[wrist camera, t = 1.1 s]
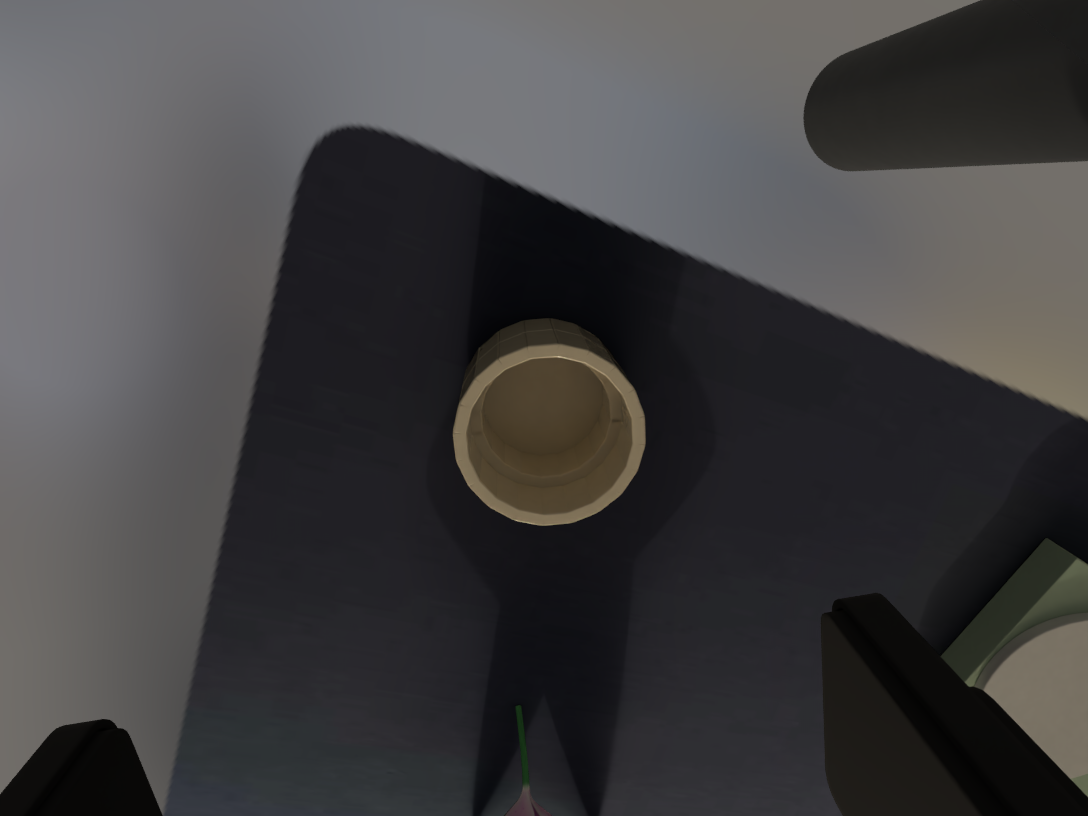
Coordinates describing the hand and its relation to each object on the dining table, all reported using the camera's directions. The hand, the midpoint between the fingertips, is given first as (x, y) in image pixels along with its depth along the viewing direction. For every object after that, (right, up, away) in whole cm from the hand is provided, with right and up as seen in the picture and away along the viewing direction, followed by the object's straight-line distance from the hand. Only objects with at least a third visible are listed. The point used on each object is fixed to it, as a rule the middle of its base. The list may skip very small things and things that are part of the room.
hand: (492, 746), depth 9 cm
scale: (+27, -10, +27) cm, 40 cm away
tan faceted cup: (+1, +5, +21) cm, 22 cm away
